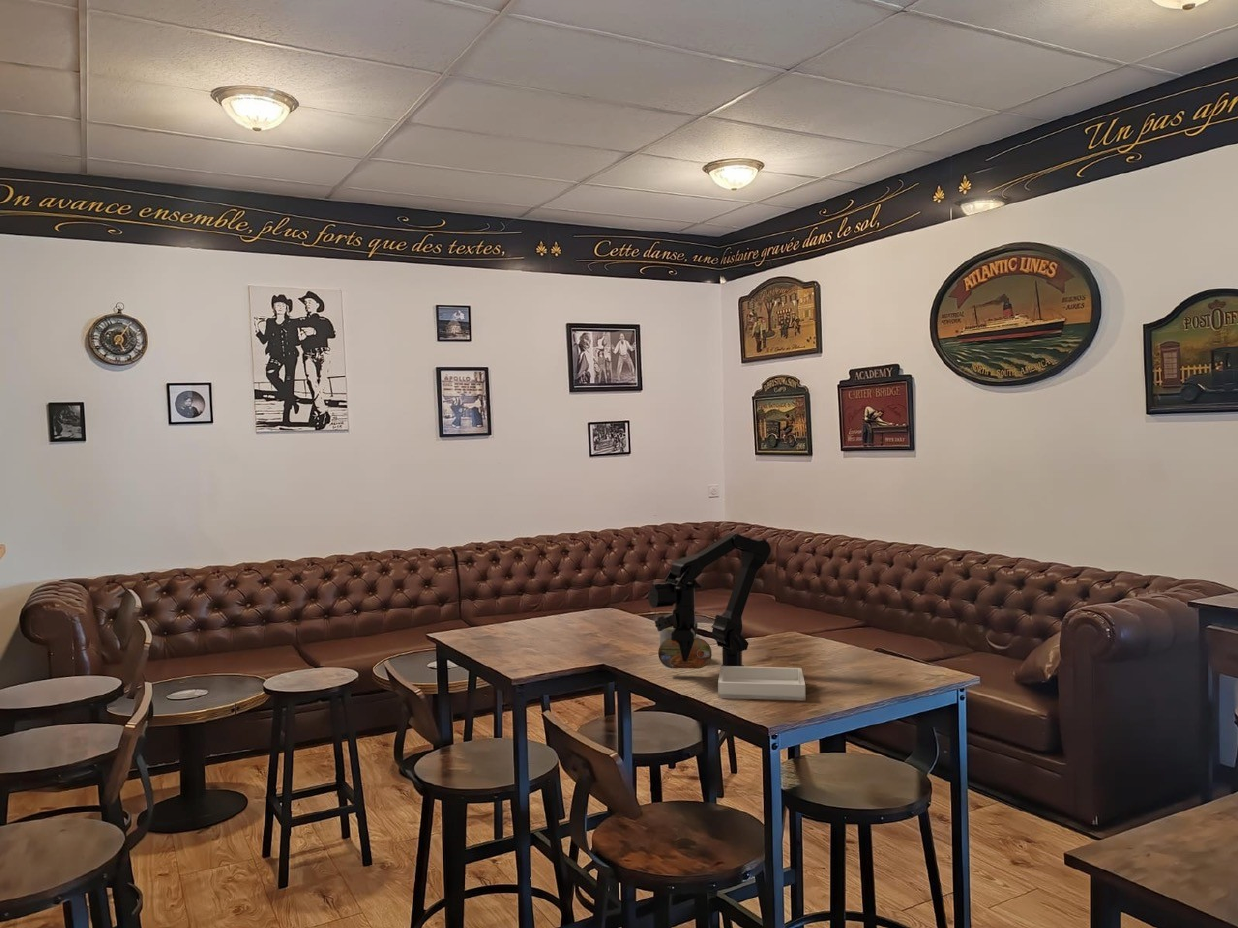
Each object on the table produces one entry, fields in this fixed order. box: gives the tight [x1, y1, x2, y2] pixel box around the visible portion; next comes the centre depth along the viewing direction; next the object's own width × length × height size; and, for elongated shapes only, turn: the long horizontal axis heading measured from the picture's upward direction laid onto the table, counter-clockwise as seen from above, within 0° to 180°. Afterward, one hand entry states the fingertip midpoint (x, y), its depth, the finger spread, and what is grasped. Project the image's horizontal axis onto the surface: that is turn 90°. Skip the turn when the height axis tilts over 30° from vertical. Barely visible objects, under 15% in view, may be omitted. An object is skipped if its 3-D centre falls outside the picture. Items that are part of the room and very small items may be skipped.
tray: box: [717, 665, 806, 701], centre depth 240 cm, size 18×22×4 cm
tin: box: [657, 637, 713, 670], centre depth 255 cm, size 15×3×8 cm, turn 81°
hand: (685, 659), depth 255 cm, fingers closed on tin, 2 cm apart
